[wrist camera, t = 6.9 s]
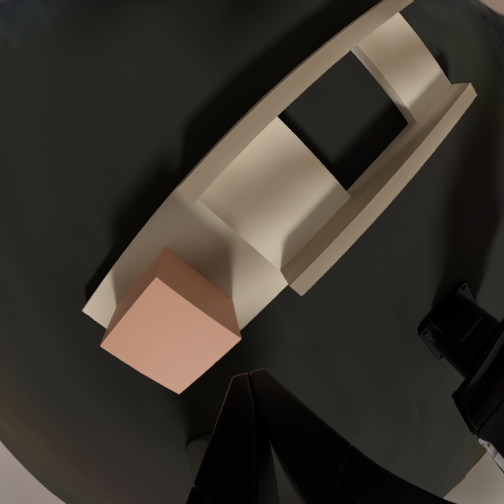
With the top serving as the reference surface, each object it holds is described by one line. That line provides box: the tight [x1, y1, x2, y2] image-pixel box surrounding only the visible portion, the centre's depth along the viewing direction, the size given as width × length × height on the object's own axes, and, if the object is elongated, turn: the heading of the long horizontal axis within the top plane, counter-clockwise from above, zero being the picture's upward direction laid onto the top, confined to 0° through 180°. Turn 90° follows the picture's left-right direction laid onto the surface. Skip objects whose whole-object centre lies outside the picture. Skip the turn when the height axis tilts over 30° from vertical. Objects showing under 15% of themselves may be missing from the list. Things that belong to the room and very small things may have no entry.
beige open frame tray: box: [83, 0, 477, 330], centre depth 16 cm, size 8×28×3 cm, turn 136°
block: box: [100, 246, 242, 394], centre depth 15 cm, size 5×5×4 cm
